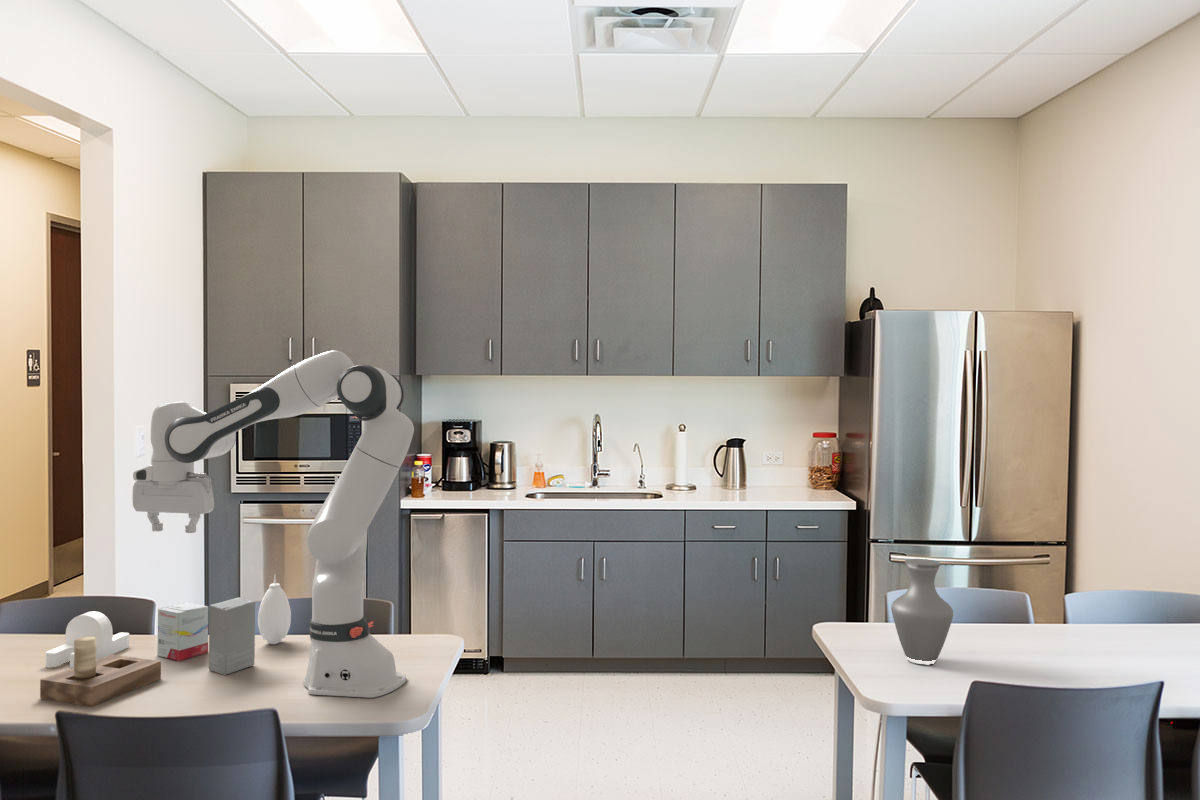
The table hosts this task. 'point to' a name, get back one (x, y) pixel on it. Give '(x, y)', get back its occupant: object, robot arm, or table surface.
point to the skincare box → (231, 635)
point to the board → (101, 681)
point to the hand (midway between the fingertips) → (174, 531)
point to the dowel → (84, 658)
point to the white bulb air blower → (274, 614)
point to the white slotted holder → (88, 627)
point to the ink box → (182, 631)
